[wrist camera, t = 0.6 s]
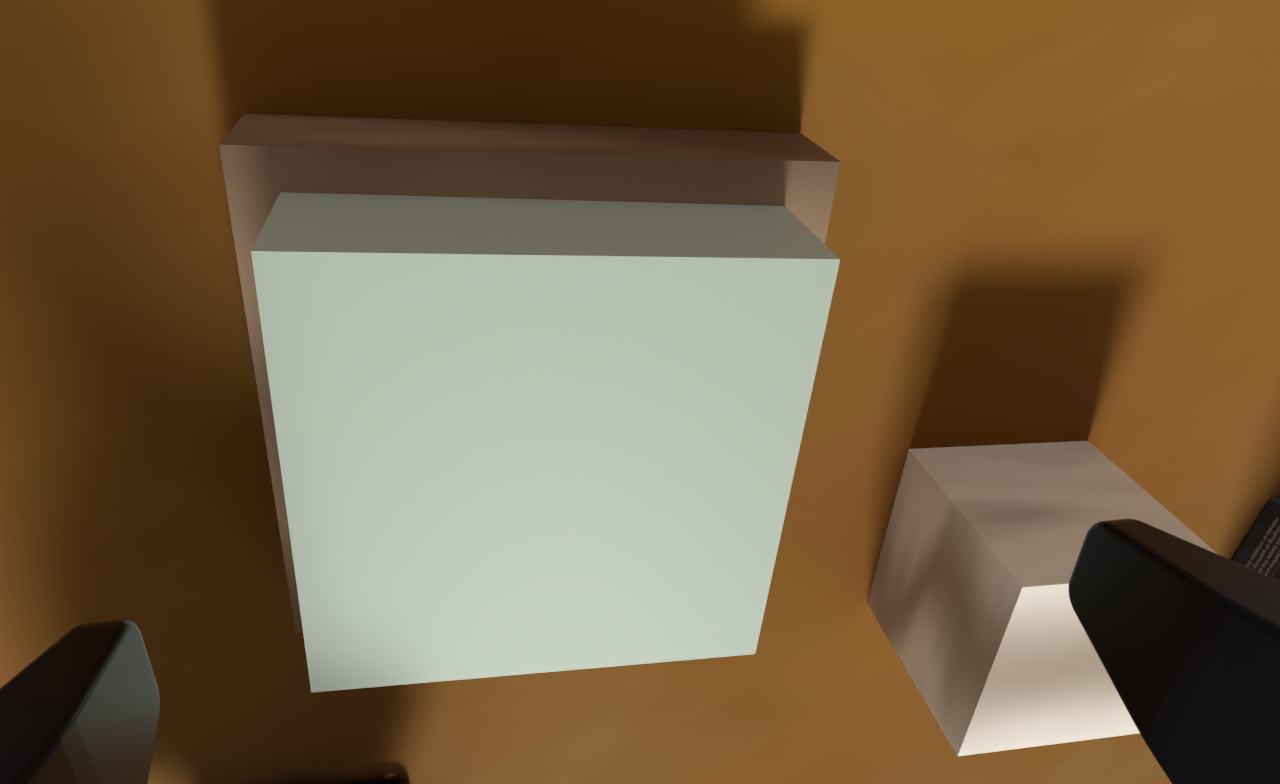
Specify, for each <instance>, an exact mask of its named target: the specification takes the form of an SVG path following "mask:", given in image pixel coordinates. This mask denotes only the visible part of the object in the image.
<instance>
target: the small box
mask: <svg viewBox="0 0 1280 784" xmlns="http://www.w3.org/2000/svg"><path fill="white" fill-rule="evenodd" d="M1232 561H1234V562H1236V563H1239V564H1241V565H1243V566H1246V567H1248V568H1250V569H1253V570H1255V571H1257V572H1260V573H1262V574H1264V575H1267V576H1269V577H1271V578H1273V579H1276V580H1278V581H1280V498H1272V499H1271V500H1270V501H1269V502H1268V504H1267V505H1266V507H1265V508H1264V510H1263V512H1262V513H1261V515H1260V516H1259V518H1258V519H1257V521H1256V523H1255V524H1254V526H1253V527H1252V529H1251V531H1250V532H1249V534H1248V536H1247V537H1246V539H1245V540H1244V542H1243V543H1242V545H1241V547H1240V548H1239V550H1238V552H1237V553H1236V555H1235V556H1234V558H1233V560H1232Z"/></svg>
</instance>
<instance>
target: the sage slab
mask: <svg viewBox="0 0 1280 784" xmlns="http://www.w3.org/2000/svg"><path fill="white" fill-rule="evenodd" d="M251 255H252V263H253V270H254V277H255V284H256V292H257V299H258V306H259V314H260V321H261V328H262V336H263V343H264V350H265V358H266V365H267V372H268V380H269V387H270V394H271V402H272V409H273V416H274V423H275V431H276V438H277V445H278V453H279V460H280V467H281V475H282V482H283V489H284V497H285V504H286V511H287V519H288V526H289V533H290V541H291V548H292V555H293V562H294V570H295V577H296V584H297V592H298V599H299V606H300V614H301V621H302V628H303V636H304V643H305V650H306V658H307V665H308V672H309V680H310V687H311V693H312V692H324V691H335V690H347V689H358V688H370V687H381V686H393V685H405V684H416V683H428V682H439V681H451V680H462V679H474V678H485V677H497V676H508V675H520V674H531V673H543V672H554V671H566V670H577V669H589V668H601V667H612V666H624V665H635V664H647V663H658V662H670V661H681V660H693V659H704V658H716V657H727V656H739V655H750V654H755V653H756V648H757V643H758V639H759V634H760V629H761V625H762V620H763V615H764V611H765V606H766V602H767V597H768V592H769V588H770V583H771V578H772V574H773V569H774V564H775V560H776V555H777V550H778V546H779V541H780V537H781V532H782V527H783V523H784V518H785V513H786V509H787V504H788V499H789V495H790V490H791V485H792V481H793V476H794V472H795V467H796V462H797V458H798V453H799V448H800V444H801V439H802V434H803V430H804V425H805V421H806V416H807V411H808V407H809V402H810V397H811V393H812V388H813V383H814V379H815V374H816V369H817V365H818V360H819V356H820V351H821V346H822V342H823V337H824V332H825V328H826V323H827V318H828V314H829V309H830V304H831V300H832V295H833V291H834V286H835V281H836V277H837V272H838V267H839V263H840V259H839V258H838V257H837V256H836V255H835V254H834V253H833V252H832V251H831V250H830V249H829V248H828V247H827V246H826V245H825V244H824V243H823V242H822V241H821V240H820V239H819V238H818V237H817V236H816V235H815V234H814V233H813V232H812V231H811V230H810V229H809V228H808V227H807V226H806V225H804V224H803V223H802V222H801V221H800V220H799V219H798V218H797V217H796V216H795V215H794V214H793V213H792V212H791V211H790V210H789V209H788V208H787V207H786V206H767V205H731V204H694V203H657V202H620V201H583V200H547V199H510V198H473V197H436V196H399V195H363V194H326V193H289V192H280V194H279V196H278V198H277V200H276V202H275V204H274V206H273V208H272V210H271V212H270V214H269V216H268V218H267V220H266V222H265V224H264V226H263V228H262V230H261V232H260V234H259V236H258V238H257V240H256V242H255V244H254V246H253V248H252V250H251Z"/></svg>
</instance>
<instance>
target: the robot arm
mask: <svg viewBox="0 0 1280 784" xmlns="http://www.w3.org/2000/svg"><path fill="white" fill-rule="evenodd" d="M1068 591H1069V598H1070V602H1071V605H1072V607H1073V610H1074V611H1075V613H1076V615H1077V617H1078V619H1079V621H1080V623H1081V625H1082V626H1083V628H1084V630H1085V632H1086V634H1087V636H1088V638H1089V639H1090V641H1091V643H1092V645H1093V647H1094V649H1095V651H1096V653H1097V654H1098V656H1099V658H1100V660H1101V662H1102V664H1103V666H1104V668H1105V669H1106V671H1107V673H1108V675H1109V677H1110V679H1111V681H1112V683H1113V684H1114V686H1115V688H1116V690H1117V692H1118V694H1119V696H1120V697H1121V699H1122V701H1123V703H1124V705H1125V707H1126V709H1127V711H1128V712H1129V714H1130V716H1131V718H1132V720H1133V722H1134V723H1135V725H1136V727H1137V729H1138V730H1139V732H1140V734H1141V736H1142V737H1143V739H1144V741H1145V743H1146V744H1147V746H1148V747H1149V749H1150V750H1151V752H1152V754H1153V755H1154V757H1155V758H1156V760H1157V762H1158V763H1159V765H1160V766H1161V768H1162V769H1163V771H1164V772H1165V774H1166V775H1167V777H1168V778H1169V780H1170V781H1171V783H1172V784H1280V581H1278V580H1276V579H1273V578H1271V577H1269V576H1267V575H1264V574H1262V573H1260V572H1257V571H1255V570H1253V569H1250V568H1248V567H1246V566H1243V565H1241V564H1239V563H1236V562H1234V561H1232V560H1230V559H1227V558H1225V557H1223V556H1220V555H1218V554H1216V553H1213V552H1211V551H1209V550H1206V549H1204V548H1202V547H1200V546H1197V545H1195V544H1193V543H1190V542H1188V541H1186V540H1183V539H1181V538H1179V537H1176V536H1174V535H1172V534H1169V533H1167V532H1165V531H1163V530H1160V529H1158V528H1156V527H1153V526H1151V525H1149V524H1146V523H1144V522H1142V521H1139V520H1135V519H1119V520H1109V521H1101V522H1098V523H1095V524H1094V525H1093V526H1092V527H1091V528H1090V529H1089V530H1088V532H1087V534H1086V537H1085V539H1084V542H1083V545H1082V548H1081V550H1080V553H1079V556H1078V559H1077V561H1076V564H1075V567H1074V569H1073V572H1072V575H1071V578H1070V581H1069V589H1068ZM159 712H160V696H159V690H158V686H157V682H156V679H155V676H154V673H153V670H152V666H151V663H150V660H149V657H148V654H147V651H146V647H145V644H144V641H143V638H142V635H141V632H140V630H139V628H138V627H137V625H136V624H135V623H134V622H132V621H129V620H115V621H105V622H95V623H86V624H82V625H79V626H77V627H75V628H73V629H72V630H70V631H69V632H68V633H66V634H65V635H64V636H63V637H61V638H60V639H59V640H58V641H57V642H55V643H54V644H53V645H52V646H51V647H49V648H48V649H47V650H46V651H45V652H43V653H42V654H41V655H40V656H39V657H37V658H36V659H35V660H34V661H33V662H31V663H30V664H29V665H28V666H27V667H25V668H24V669H23V670H22V671H21V672H19V673H18V674H17V675H16V676H15V677H13V678H12V679H11V680H10V681H9V682H7V683H6V684H5V685H4V686H3V687H1V688H0V784H147V781H148V776H149V770H150V765H151V759H152V754H153V748H154V743H155V737H156V732H157V726H158V720H159ZM363 784H407V783H406V782H404V781H401V780H389V781H381V782H372V783H363Z"/></svg>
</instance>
